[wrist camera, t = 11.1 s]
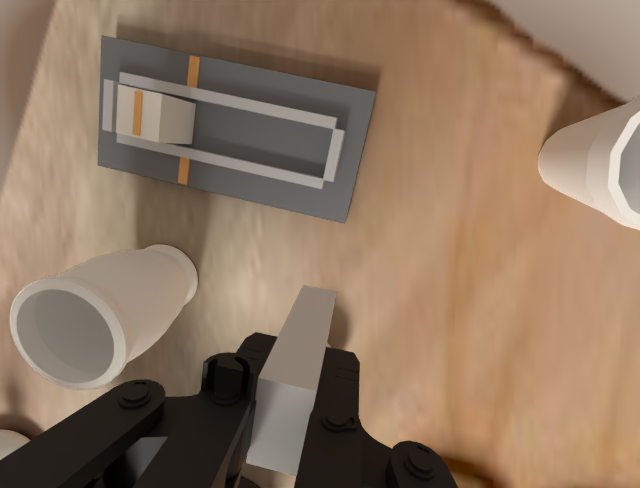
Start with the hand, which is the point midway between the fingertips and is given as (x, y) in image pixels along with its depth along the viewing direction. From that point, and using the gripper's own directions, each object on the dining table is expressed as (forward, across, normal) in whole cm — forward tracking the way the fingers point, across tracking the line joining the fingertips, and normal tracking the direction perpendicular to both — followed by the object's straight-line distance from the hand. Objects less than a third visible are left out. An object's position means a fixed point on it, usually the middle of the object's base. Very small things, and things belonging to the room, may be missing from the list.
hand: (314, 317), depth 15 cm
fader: (+22, +19, -7) cm, 30 cm away
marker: (+22, +18, -7) cm, 29 cm away
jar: (+24, +20, +11) cm, 34 cm away
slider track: (+24, +14, -7) cm, 28 cm away
